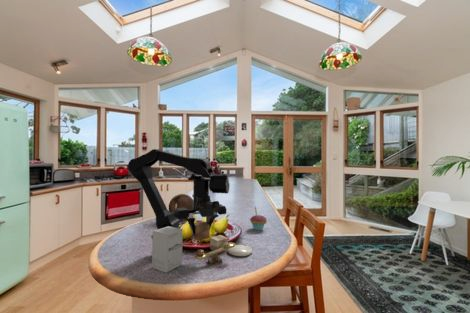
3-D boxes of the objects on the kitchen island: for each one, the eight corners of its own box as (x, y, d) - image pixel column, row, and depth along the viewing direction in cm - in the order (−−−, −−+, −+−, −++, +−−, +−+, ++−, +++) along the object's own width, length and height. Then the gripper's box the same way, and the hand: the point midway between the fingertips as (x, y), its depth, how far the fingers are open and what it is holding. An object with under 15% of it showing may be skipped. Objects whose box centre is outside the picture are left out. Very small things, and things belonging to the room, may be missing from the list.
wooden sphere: (185, 215, 157) (185, 191, 157) (199, 220, 147) (200, 194, 146) (163, 219, 146) (163, 193, 146) (177, 225, 136) (178, 197, 136)
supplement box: (166, 273, 81) (167, 234, 81) (151, 267, 85) (151, 230, 85) (182, 265, 87) (183, 228, 87) (167, 260, 91) (168, 225, 91)
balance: (196, 269, 85) (196, 252, 84) (192, 263, 88) (192, 248, 88) (236, 260, 92) (237, 245, 92) (231, 256, 96) (231, 241, 96)
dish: (234, 259, 93) (235, 256, 93) (223, 250, 101) (224, 247, 101) (256, 254, 97) (256, 251, 97) (244, 246, 106) (244, 243, 106)
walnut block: (196, 240, 90) (196, 226, 90) (192, 236, 95) (192, 222, 95) (209, 238, 93) (209, 224, 93) (204, 234, 97) (204, 221, 97)
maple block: (217, 253, 98) (217, 240, 98) (210, 249, 102) (210, 237, 102) (227, 250, 101) (227, 238, 101) (220, 246, 105) (220, 234, 105)
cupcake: (247, 230, 128) (248, 206, 128) (253, 225, 136) (253, 203, 136) (264, 232, 125) (264, 208, 125) (268, 227, 133) (268, 205, 133)
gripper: (182, 197, 82) (182, 245, 82) (233, 193, 91) (232, 237, 91) (174, 192, 92) (173, 235, 92) (220, 189, 101) (220, 228, 101)
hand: (200, 234), depth 94 cm, fingers closed on walnut block, 5 cm apart
